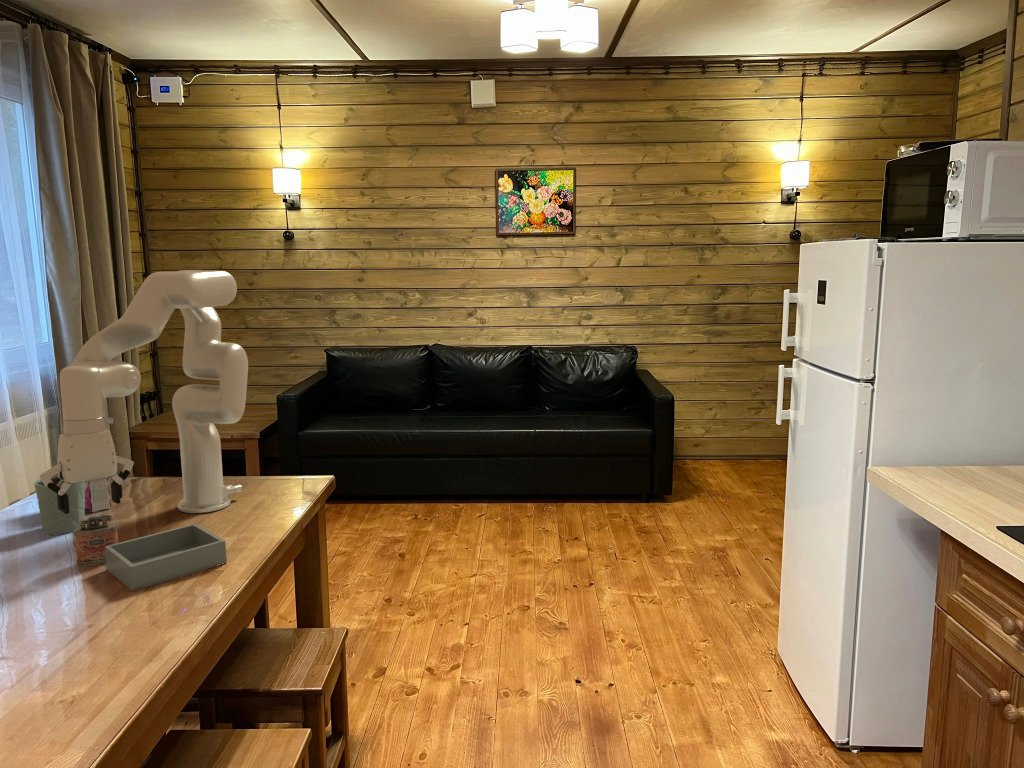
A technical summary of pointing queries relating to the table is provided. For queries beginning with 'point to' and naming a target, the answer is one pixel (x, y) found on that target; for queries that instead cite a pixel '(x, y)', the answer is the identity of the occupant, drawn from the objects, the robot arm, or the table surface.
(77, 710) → the table surface
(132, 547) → the bin
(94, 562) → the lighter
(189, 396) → the robot arm
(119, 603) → the table surface
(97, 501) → the candy bar box
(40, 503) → the green plant pot
